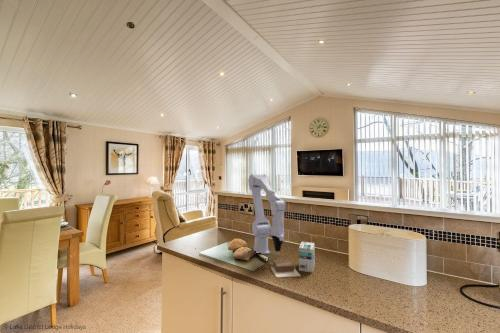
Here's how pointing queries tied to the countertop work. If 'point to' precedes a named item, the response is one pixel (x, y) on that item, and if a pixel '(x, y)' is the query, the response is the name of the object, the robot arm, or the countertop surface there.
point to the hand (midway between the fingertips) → (277, 250)
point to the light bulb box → (306, 256)
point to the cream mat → (285, 273)
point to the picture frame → (283, 265)
